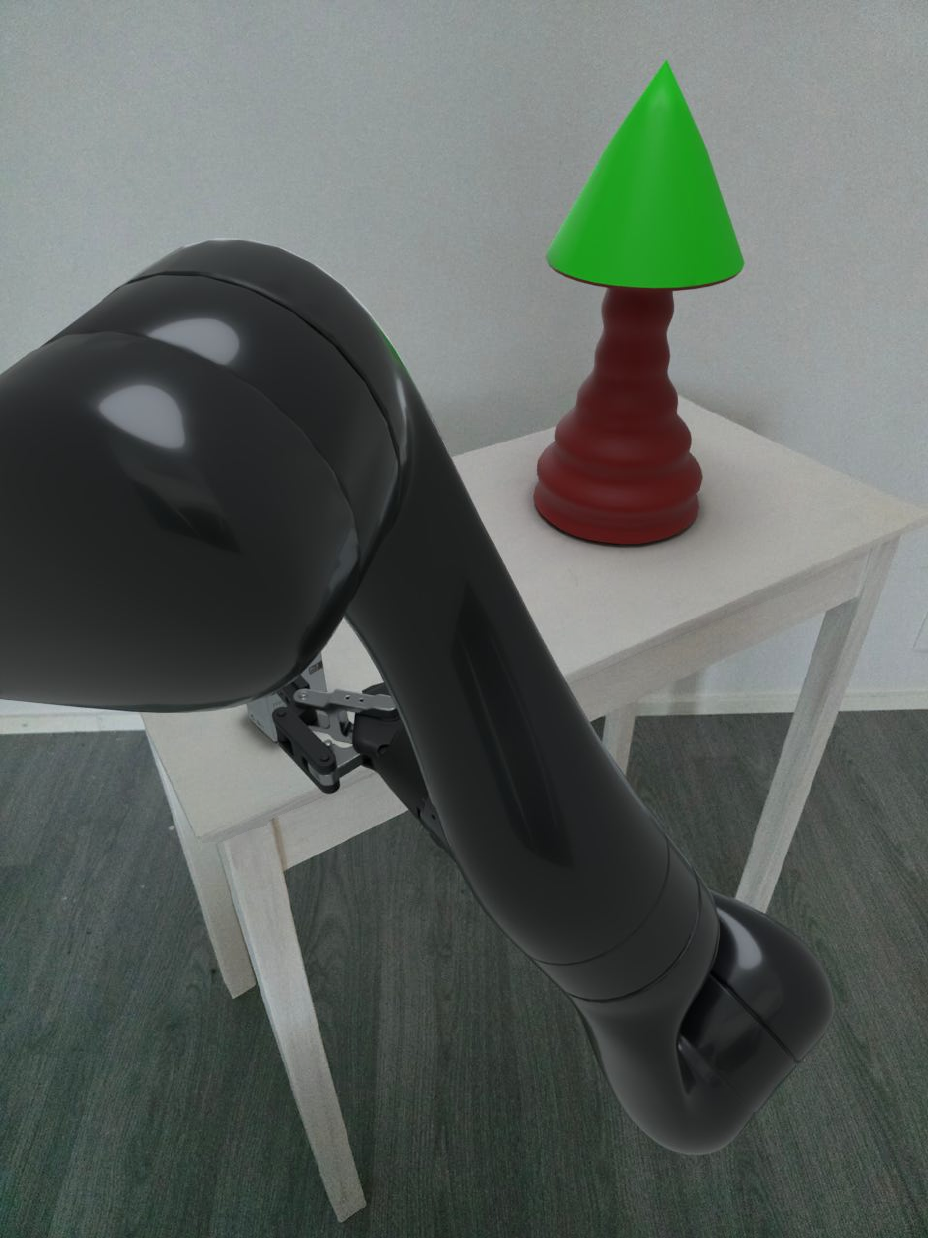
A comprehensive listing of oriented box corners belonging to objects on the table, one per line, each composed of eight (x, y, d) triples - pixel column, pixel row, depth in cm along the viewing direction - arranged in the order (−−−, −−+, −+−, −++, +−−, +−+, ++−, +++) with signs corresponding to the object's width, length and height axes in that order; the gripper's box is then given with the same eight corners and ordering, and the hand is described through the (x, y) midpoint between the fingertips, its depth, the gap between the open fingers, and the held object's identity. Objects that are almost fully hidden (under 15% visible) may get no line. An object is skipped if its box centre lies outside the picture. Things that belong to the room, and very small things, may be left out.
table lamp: (733, 515, 99) (834, 60, 71) (601, 567, 91) (655, 77, 63) (625, 449, 112) (674, 44, 84) (502, 489, 104) (510, 57, 76)
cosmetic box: (275, 745, 71) (251, 636, 63) (246, 718, 74) (219, 610, 66) (333, 709, 74) (316, 601, 67) (304, 684, 77) (284, 578, 69)
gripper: (578, 686, 48) (418, 560, 58) (367, 809, 41) (228, 642, 52) (570, 773, 53) (423, 642, 63) (379, 895, 46) (250, 727, 56)
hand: (335, 643), depth 57 cm, fingers open, 8 cm apart
